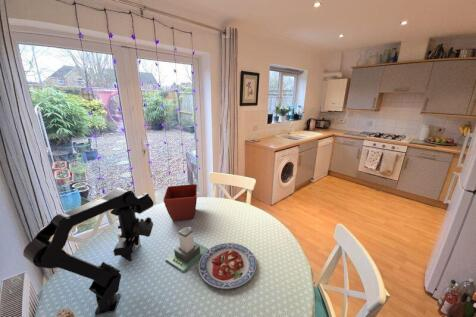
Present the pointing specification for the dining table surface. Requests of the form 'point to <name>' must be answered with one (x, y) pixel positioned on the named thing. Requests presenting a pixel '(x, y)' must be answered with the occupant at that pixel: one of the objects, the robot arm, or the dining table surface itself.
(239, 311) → the dining table surface
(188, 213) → the plant pot
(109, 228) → the dining table surface
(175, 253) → the header board
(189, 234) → the keyed plug
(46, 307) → the dining table surface
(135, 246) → the ink box
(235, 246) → the ceramic plate
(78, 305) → the dining table surface
